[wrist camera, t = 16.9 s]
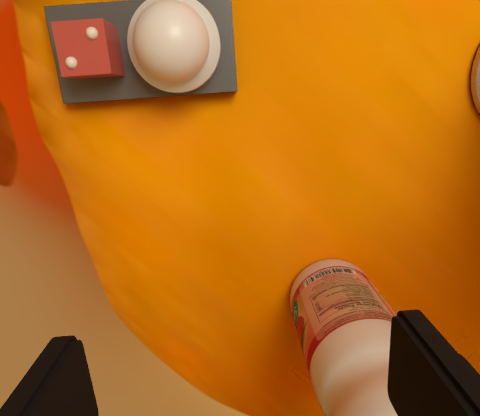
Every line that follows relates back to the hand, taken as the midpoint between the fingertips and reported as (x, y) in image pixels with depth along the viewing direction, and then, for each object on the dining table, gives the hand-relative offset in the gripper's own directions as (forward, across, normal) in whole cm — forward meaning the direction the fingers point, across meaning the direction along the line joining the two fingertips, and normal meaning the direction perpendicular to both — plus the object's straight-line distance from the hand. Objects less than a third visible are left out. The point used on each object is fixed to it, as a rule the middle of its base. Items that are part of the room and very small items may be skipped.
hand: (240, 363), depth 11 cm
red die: (+26, +11, -12) cm, 31 cm away
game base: (+28, +7, -12) cm, 32 cm away
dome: (+26, +4, -12) cm, 29 cm away
